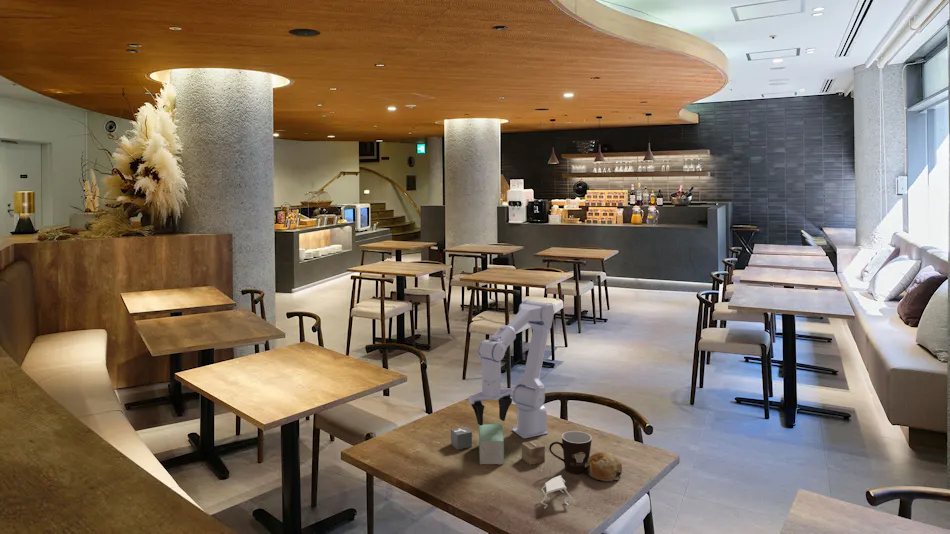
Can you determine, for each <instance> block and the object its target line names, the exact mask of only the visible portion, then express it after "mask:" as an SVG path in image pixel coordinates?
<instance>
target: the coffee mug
mask: <svg viewBox="0 0 950 534" xmlns="http://www.w3.org/2000/svg"><path fill="white" fill-rule="evenodd" d="M561 440H562V441H561V442H560V441H554V442H552V443H550V445H549V447H548V449H549V452H550V453H551V455H552V456H554V457H555V458H557V459H558V460H560V461H562V462H563V463H564V470H565V472H567V473H569V474H571V475H576V476H578V475H580V474H581V475H585V474H586V473H587V470H586V468H585V464H586V463H587V460H588V458H589V457H590V456H591V455H590V453H591V448H592V440H593V438H592V435H591V434H589V433H588V432H585V431H580V430H569V431H565V432H563V433H562V434H561ZM554 445H559V446H560V447H561V449H562V452H563V458H562V457H560V456H559V455H557V454H555V453H554V451H552V447H553V446H554ZM584 473H585V474H584Z"/></svg>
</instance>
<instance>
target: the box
mask: <svg viewBox="0 0 950 534" xmlns="http://www.w3.org/2000/svg"><path fill="white" fill-rule="evenodd" d="M503 432H504V431H503V425H502V424H501V423H498V424H497V423H495V424H494V423H493V424H492V423H489V424H487V423H483V425H481V426H480V425H479V424H478V453H479V454H478V455H479V459H478V460H479V464H480V465H482V464H498V465H504V464H505V463H504V462H505V445H504V433H503Z"/></svg>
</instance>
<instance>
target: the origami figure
mask: <svg viewBox="0 0 950 534" xmlns="http://www.w3.org/2000/svg"><path fill="white" fill-rule="evenodd" d="M565 484H566V480H565V479H564V478H563V477H562V474H561V475H560V474H559V475H558V476H555V477H552V478H551V479H549V480H548V481H546V482H545V483H544V485H543V486H542V488H541V489H540V491H541V492H542V494H543V495H544V497H543V498H542V499H541V501H540V504H542V505H544V508H543V509H546V508H547V507H548V503H544V501H546V500H547V499H548V494H550V493H554V492H556V491H560V492H561V493H563V494H565V493H566V494H567V496H568V497H566V498H564V499H563V501H564V503H565V505H566V506H568V505H569V503H568V502H567V501H570V500H573V497H572V496H571V494H570V493H569V492H568V491H569V490H567V486H566V485H565ZM544 489H545V491H544ZM563 490H564V491H563ZM545 492H546V493H545ZM568 507H569V506H568Z"/></svg>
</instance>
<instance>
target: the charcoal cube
mask: <svg viewBox="0 0 950 534" xmlns="http://www.w3.org/2000/svg"><path fill="white" fill-rule="evenodd" d="M472 434H473V433H472V431H471V430H470V429H469V428H468V427H466V426H461V427H456V428H451V429H450V445H451V446H453V448H454V449H456V450H457V451H459V449H460V450H463V448H465V449H467V448H472V447H473V446H472V445H473V435H472Z"/></svg>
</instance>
